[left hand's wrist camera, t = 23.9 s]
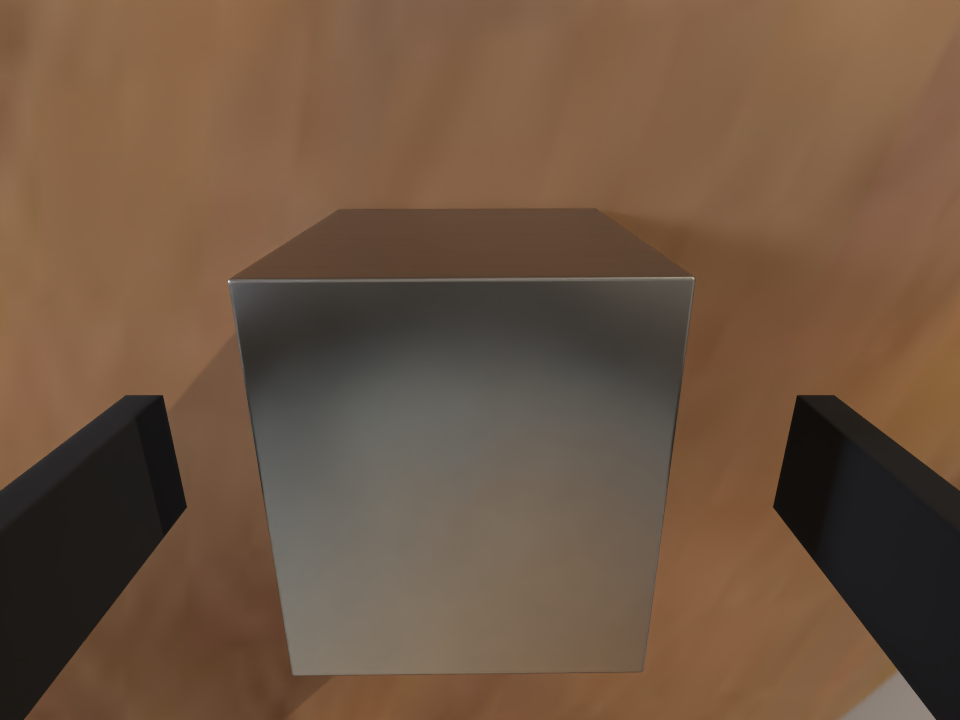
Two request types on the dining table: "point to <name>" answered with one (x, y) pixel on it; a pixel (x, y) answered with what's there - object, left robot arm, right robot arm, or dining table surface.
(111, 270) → the dining table surface
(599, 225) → the metallic grey cube
